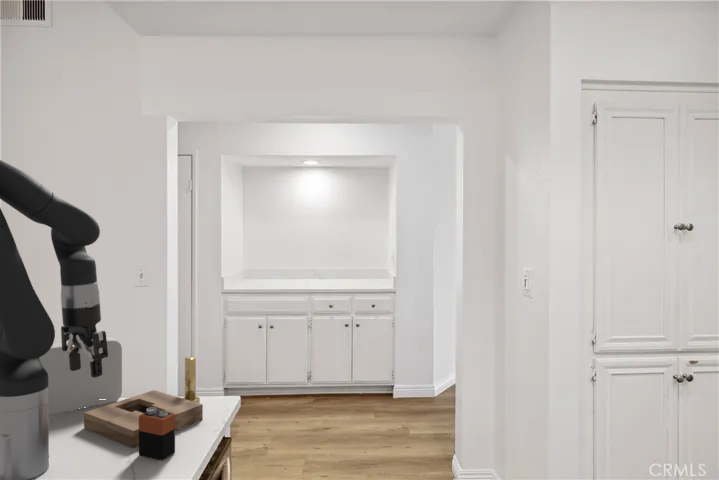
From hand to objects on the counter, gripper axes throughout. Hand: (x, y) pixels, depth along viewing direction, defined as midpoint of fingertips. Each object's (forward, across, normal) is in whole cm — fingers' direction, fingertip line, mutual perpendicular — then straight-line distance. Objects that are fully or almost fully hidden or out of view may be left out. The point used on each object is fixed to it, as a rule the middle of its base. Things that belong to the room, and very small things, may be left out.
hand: (86, 373), depth 113 cm
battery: (+18, +16, +5) cm, 25 cm away
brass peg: (+19, -3, +30) cm, 36 cm away
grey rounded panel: (+18, -28, +8) cm, 34 cm away
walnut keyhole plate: (+18, -1, +14) cm, 23 cm away
